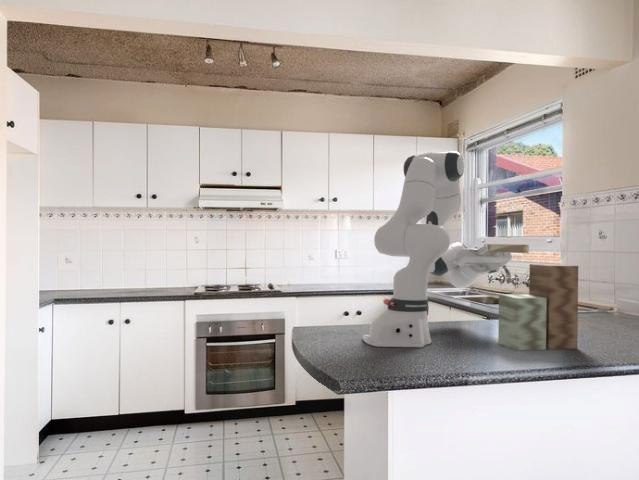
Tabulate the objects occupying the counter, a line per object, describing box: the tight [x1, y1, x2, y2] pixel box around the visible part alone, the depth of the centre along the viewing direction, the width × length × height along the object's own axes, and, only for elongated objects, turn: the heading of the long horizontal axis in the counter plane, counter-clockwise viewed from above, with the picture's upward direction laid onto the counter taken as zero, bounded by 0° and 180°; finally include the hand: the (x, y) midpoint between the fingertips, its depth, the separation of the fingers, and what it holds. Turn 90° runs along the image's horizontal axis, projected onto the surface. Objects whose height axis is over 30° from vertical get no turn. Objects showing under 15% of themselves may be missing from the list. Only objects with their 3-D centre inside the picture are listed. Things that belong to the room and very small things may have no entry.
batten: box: [483, 243, 530, 254], centre depth 155 cm, size 3×22×3 cm, turn 10°
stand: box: [497, 263, 579, 351], centre depth 146 cm, size 21×10×26 cm, turn 100°
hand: (493, 246), depth 162 cm, fingers closed on batten, 3 cm apart
